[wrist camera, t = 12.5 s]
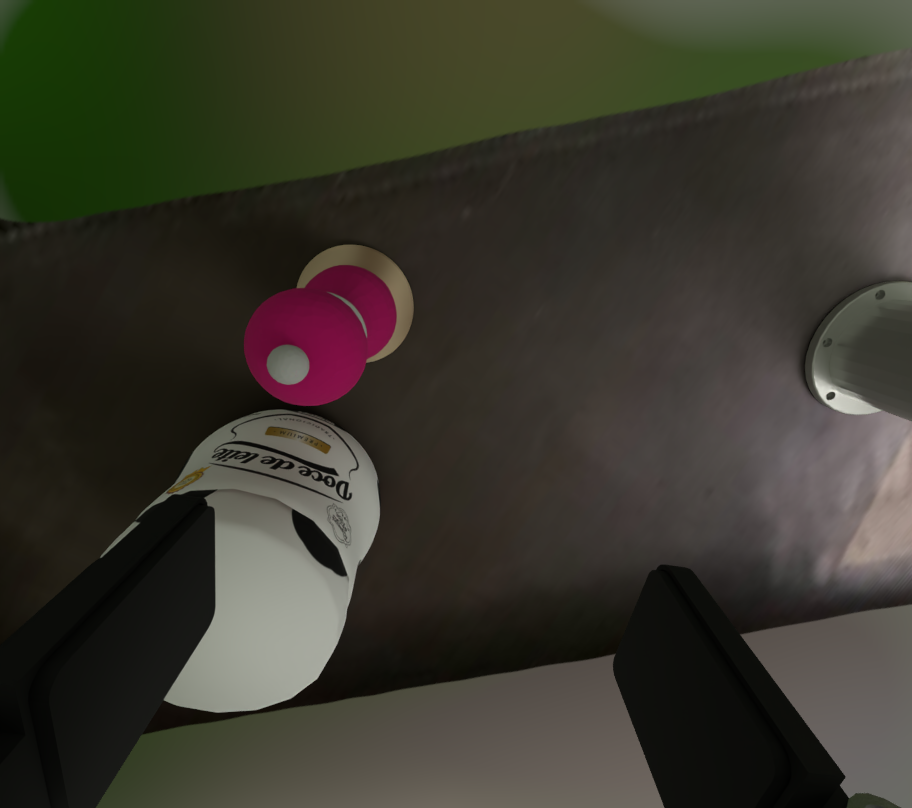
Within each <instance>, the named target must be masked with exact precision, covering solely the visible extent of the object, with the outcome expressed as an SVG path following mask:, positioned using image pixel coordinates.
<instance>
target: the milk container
mask: <svg viewBox="0 0 912 808" xmlns="http://www.w3.org/2000/svg"><path fill="white" fill-rule="evenodd" d="M173 494H180V495H187V496H194V497H201V498H204V499H206V501H207V505H208V506H211V507H213V508H214V510H215V592H216V607H215V614H214V617H213V620H212V622H211V625H210V626H209V628H208V630H207V631H206V633H205V635H204V636H203V638H202V639H201V641H200V643H199V644H198V646H197V647H196V649H195V650H194V652H193V654H192V655H191V657H190V658H189V660H188V662H187V663H186V665H185V666H184V668H183V670H182V671H181V673H180V674H179V676H178V678H177V679H176V681H175V682H174V684H173V685H172V687H171V689H170V690H169V692H168V693H167V695H166V697H165V698H164V700H165V701H167V702H169V703H172V704H174V705H177V706H182V707H188V708H194V709H200V710H205V711H211V712H233V711H248V710H258V709H261V708H264V707H267V706H270V705H273V704H276V703H279V702H282V701H285V700H288V699H290V698H292V697H293V696H295V695H296V694H297V693H299V692H300V691H301V690H303V689H304V688H305V687H307V686H308V685H309V684H311V683H312V682H313V681H315V680H316V679H317V678H318V677H319V675H320V673H321V672H322V670H323V668H324V666H325V665H326V663H327V661H328V660H329V658H330V656H331V654H332V653H333V651H334V649H335V647H336V645H337V643H338V640H339V638H340V635H341V632H342V630H343V627H344V624H345V620H346V614H347V607H348V605H349V602H350V598H351V594H352V590H353V585H354V580H355V574H356V569H357V567H358V565H359V564H360V563H361V561H362V560H363V558H364V556H365V555H366V553H367V552H368V550H369V548H370V546H371V544H372V542H373V539H374V537H375V534H376V531H377V527H378V523H379V517H380V506H381V499H380V488H379V482H378V477H377V474H376V471H375V468H374V466H373V463H372V461H371V459H370V458H369V456H368V454H367V453H366V451H365V450H364V449H363V447H362V446H361V445H360V444H359V443H358V442H357V441H356V440H355V439H354V438H353V437H352V436H351V435H350V434H349V433H348V432H346V431H345V430H344V429H342V428H341V427H339V426H338V425H336V424H334V423H333V422H331V421H329V420H327V419H325V418H322V417H320V416H317V415H314V414H310V413H306V412H302V411H296V410H286V409H277V410H267V411H261V412H257V413H253V414H250V415H247V416H245V417H242V418H239V419H237V420H235V421H233V422H231V423H229V424H227V425H225V426H223V427H222V428H220V429H218V430H217V431H215V432H214V433H213V434H211V435H210V436H209V437H208V438H206V439H205V440H204V441H203V442H202V443H201V444H200V445H199V446H198V447H197V448H196V449H195V450H194V452H193V453H192V454H191V455H190V457H189V458H188V459H187V461H186V462H185V464H184V466H183V468H182V469H181V471H180V473H179V475H178V477H177V480H176V482H175V484H174V485H173V486H172V487H170V488H169V489H168V490H167V491H165V492H164V493H163V494H162V495H161V496H159V497H158V498H157V499H156V500H155V501H154V502H153V503H151V504H150V505H149V506H148V507H147V508H146V509H145V510H144V511H143V512H142V513H141V514H140V515H139V516H138V518H137V519H136V520H135V521H134V522H133V523H132V524H131V525H130V526H129V527H128V528H127V529H126V530H125V531H124V532H123V533H122V534H121V535H120V536H119V537H118V538H117V539H116V540H115V541H114V542H113V543H112V544H111V545H110V546H109V547H108V549H107V550H106V551H105V552H104V553H103V554H102V556H101V557H103V556H104V555H105V554H106V553H107V552H108V551H109V550H110V549H111V548H113V547H114V546H115V545H116V544H117V543H118V542H119V541H120V540H121V539H123V538H124V537H125V536H126V535H127V534H128V533H129V532H130V531H131V530H133V529H134V528H135V527H136V526H137V525H138V524H139V523H140V522H141V521H143V520H144V519H145V518H146V517H147V516H148V515H149V514H150V513H152V512H153V511H154V510H155V509H156V508H157V507H158V506H159V505H160V504H162V503H163V502H164V501H165V500H166V499H167V498H168V497H170V496H171V495H173ZM101 557H100V558H101Z"/></svg>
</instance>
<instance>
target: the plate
mask: <svg viewBox="0 0 912 808" xmlns="http://www.w3.org/2000/svg"><path fill="white" fill-rule="evenodd" d="M338 265H353V266H358V267H361V268H364V269H366V270H368V271H370V272H372V273H374V274H375V275H376V276H378V277H379V278H380V279H381V280H383V281H384V283H385V284H386V285H387V286H388V288H389V290H390V291H391V294H392V296H393V298H394V302H395V305H396V311H397V322H396V326H395V331H394V333H393V335H392V337H391V339H390V341H389V342H388V344H387V345H386V346H385V347H384V348H383V349H382V350H381V351H380V352H379V353H377V354H376V355H374V356H373V357H371V358H369V359H367V361H366V363H367V362H372V361H376V360H379V359H381V358H383V357H385V356H387V355H389V354H390V353H392V352H393V351H394V350H395V349H396V348H397V347H398V346H399V345H400V344H401V343H402V341H403V340H404V339H405V337H406V335H407V333H408V331H409V329H410V326H411V323H412V318H413V310H414V305H413V296H412V292H411V288H410V285H409V283H408V281H407V279H406V277H405V275H404V274H403V272H402V271H401V270H400V268H399V267H398V266H397V265H396V264H395V263H394V262H393V261H392V260H391V259H390V258H388V257H387V256H386V255H384V254H383V253H381V252H379V251H377V250H375V249H372V248H370V247H366V246H361V245H341V246H336V247H332V248H329V249H327V250H325V251H323V252H321V253H320V254H318V255H317V256H315V257H314V258H313V259H312V260H311V261H310V262H309V263H308V265H307V266H306V267H305V269H304V270H303V272H302V274H301V276H300V278H299V281H298V284H297V288H305V286H306V285H307V284H308V282H309V281H310V280H311V279H312V278H313V277H315V276H316V275H317V274H318V273H320V272H322V271H323V270H325V269H327V268H330V267H333V266H338Z"/></svg>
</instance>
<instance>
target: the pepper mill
mask: <svg viewBox="0 0 912 808" xmlns="http://www.w3.org/2000/svg"><path fill="white" fill-rule="evenodd" d="M396 322H397V311H396V305H395V302H394V298H393V296H392V294H391V291H390V290H389V288H388V286H387V285H386V284H385V283H384V281H383V280H381V279H380V278H379V277H378V276H376V275H375V274H374V273H372V272H370V271H368V270H366V269H364V268H361V267H358V266H353V265H338V266H333V267H330V268H327V269H325V270H323V271H322V272H320V273H318V274H317V275H316V276H315V277H313V278H312V279H311V280H310V281H309V282H308V284H307V285H306V286H305V288H294V289H290V290H286V291H282V292H279V293H278V294H276V295H274V296H272V297H270V298H269V299H267V300H266V301H265V302H263V303H262V304H261V305H260V306H259V307H258V308H257V310H256V311H255V312H254V314H253V315H252V317H251V319H250V321H249V323H248V326H247V328H246V332H245V338H244V352H245V357H246V361H247V364H248V366H249V368H250V371H251V373H252V374H253V376H254V378H255V379H256V381H257V382H258V383H259V384H260V385H261V386H262V387H263V388H264V389H265V390H266V391H267V392H269V393H270V394H271V395H272V396H274V397H276V398H278V399H280V400H282V401H284V402H287V403H290V404H294V405H301V406H317V405H322V404H326V403H329V402H332V401H334V400H337V399H339V398H340V397H342V396H343V395H345V394H346V393H347V392H348V391H349V390H351V389H352V388H353V387H354V385H355V384H356V383H357V382H358V380H359V378H360V376H361V375H362V373H363V371H364V368H365V365H366V361H367V359H369V358H371V357H373V356H374V355H376V354H377V353H379V352H380V351H381V350H382V349H383V348H384V347H385V346H386V345H387V344H388V342H389V341H390V339H391V337H392V335H393V333H394V331H395V326H396Z"/></svg>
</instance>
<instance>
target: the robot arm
mask: <svg viewBox="0 0 912 808" xmlns="http://www.w3.org/2000/svg"><path fill="white" fill-rule="evenodd" d="M805 375H806V381H807V384H808V387H809V389H810V391H811V392H812V394H813V396H814V397H815V398H816V399H817V400H818V401H819V402H820V403H821V404H823V405H825V406H826V407H828V408H830V409H833V410H835V411H838V412H840V413H843V414H850V415H867V414H872V413H877V412H880V411H885V412H888V413H891V414H893V415H896V416H899V417H901V418H904V419H907V420H909V421H912V282H905V281H887V282H882V283H877V284H873V285H871V286H868V287H866V288H863V289H861V290H859V291H857V292H856V293H854V294H852V295H850V296H849V297H847V298H846V299H845V300H843V301H842V302H841V303H840V304H838V305H837V306H836V307H835V308H834V309H833V310H832V311H831V312H830V313H829V314H828V315H827V316H826V317H825V319H824V320H823V321H822V323H821V324H820V326H819V327H818V329H817V330H816V332H815V334H814V336H813V338H812V340H811V342H810V345H809V348H808V351H807V355H806V362H805ZM215 607H216V592H215V510H214V508H213V507H211V506H208V505H207V501H206V499H204V498H201V497H194V496H187V495H180V494H173V495H171V496H170V497H168V498H167V499H166V500H165V501H164V502H163V503H162V504H160V505H159V506H158V507H157V508H156V509H155V510H154V511H153V512H152V513H150V514H149V515H148V516H147V517H146V518H145V519H144V520H143V521H141V522H140V523H139V524H138V525H137V526H136V527H135V528H134V529H133V530H131V531H130V532H129V533H128V534H127V535H126V536H125V537H124V538H123V539H121V540H120V541H119V542H118V543H117V544H116V545H115V546H114V547H113V548H111V549H110V550H109V551H108V552H107V553H106V554H105V555H104V556H103V557H101V558H99V559H98V560H96V561H95V562H94V563H92V564H91V565H90V566H89V567H88V568H86V569H85V570H84V571H83V572H82V573H81V574H80V575H79V576H77V577H76V578H75V579H74V580H73V581H72V582H71V583H70V584H68V585H67V586H66V587H65V588H64V589H63V590H62V591H61V592H59V593H58V594H57V595H56V596H55V597H54V598H53V599H52V600H50V601H49V602H48V603H47V604H46V605H45V606H44V607H43V608H42V609H40V610H39V611H38V612H37V613H36V614H35V615H34V616H33V617H31V618H30V619H29V620H28V621H27V622H26V623H25V624H24V625H22V626H21V627H20V628H19V629H18V630H17V631H16V632H15V633H13V634H12V635H11V636H10V637H9V638H8V639H7V640H6V641H4V642H3V643H2V644H1V645H0V808H96V806H97V804H98V803H99V801H100V800H101V798H102V797H103V795H104V794H105V792H106V790H107V789H108V787H109V785H110V784H111V782H112V781H113V779H114V778H115V776H116V774H117V773H118V771H119V770H120V768H121V766H122V765H123V763H124V762H125V760H126V758H127V757H128V755H129V754H130V752H131V751H132V749H133V747H134V746H135V744H136V743H137V741H138V739H139V738H140V736H141V735H142V733H143V732H144V730H145V728H146V727H147V725H148V724H149V722H150V720H151V719H152V717H153V716H154V714H155V712H156V711H157V709H158V708H159V706H160V705H161V703H162V701H163V700H164V698H165V697H166V695H167V693H168V692H169V690H170V689H171V687H172V685H173V684H174V682H175V681H176V679H177V678H178V676H179V674H180V673H181V671H182V670H183V668H184V666H185V665H186V663H187V662H188V660H189V658H190V657H191V655H192V654H193V652H194V650H195V649H196V647H197V646H198V644H199V643H200V641H201V639H202V638H203V636H204V635H205V633H206V631H207V630H208V628H209V626H210V625H211V622H212V620H213V617H214V614H215ZM613 671H614V676H615V679H616V681H617V684H618V687H619V689H620V692H621V695H622V697H623V700H624V703H625V705H626V708H627V710H628V713H629V716H630V718H631V721H632V724H633V726H634V728H635V731H636V734H637V737H638V739H639V742H640V744H641V747H642V750H643V752H644V755H645V758H646V760H647V763H648V765H649V768H650V771H651V773H652V776H653V778H654V781H655V784H656V786H657V789H658V792H659V794H660V797H661V800H662V802H663V805H664V807H665V808H901V807H899V806H897V805H895V804H893V803H892V802H890V801H888V800H886V799H884V798H881V797H878V796H875V795H872V794H869V793H856V794H854V795H853V796H852V797H850V798H848V796H847V795H846V794H845V792H844V791H843V789H842V788H841V787H840V784H841V783H842V781H843V780H844V779H845V775H844V774H843V773H842V771H841V770H840V769H839V767H838V766H837V765H836V763H835V762H834V761H833V759H832V758H831V757H830V755H829V754H828V752H827V751H826V750H825V749H824V747H823V746H822V744H821V743H820V742H819V740H818V739H817V738H816V736H815V735H814V734H813V732H812V731H811V730H810V728H809V727H808V726H807V725H806V723H805V722H804V720H803V719H802V717H801V716H800V715H799V713H798V712H797V711H796V709H795V708H794V707H793V706H792V704H791V703H790V701H789V700H788V699H787V697H786V696H785V695H784V693H783V692H782V691H781V689H780V688H779V687H778V685H777V684H776V683H775V681H774V680H773V679H772V677H771V676H770V674H769V673H768V672H767V670H766V669H765V668H764V666H763V665H762V664H761V662H760V661H759V660H758V658H757V657H756V656H755V654H754V653H753V652H752V650H751V649H750V648H749V646H748V645H747V644H746V642H745V641H744V639H743V638H742V637H741V635H740V634H739V633H738V631H737V630H736V629H735V627H734V626H733V625H732V623H731V622H730V621H729V619H728V618H727V617H726V615H725V614H724V613H723V611H722V610H721V609H720V607H719V606H718V605H717V603H716V602H715V600H714V599H713V598H712V596H711V595H710V594H709V592H708V591H707V590H706V588H705V587H704V586H703V584H702V583H701V582H700V580H699V579H698V578H697V576H696V575H695V574H694V572H693V571H692V570H691V569H688V568H685V567H678V566H671V565H660V566H659V567H657V569H656V570H652V571H651V572H650V573H649V575H648V577H647V580H646V582H645V584H644V587H643V589H642V592H641V594H640V597H639V599H638V601H637V604H636V606H635V609H634V611H633V613H632V616H631V618H630V621H629V623H628V626H627V628H626V630H625V633H624V635H623V638H622V640H621V643H620V645H619V647H618V650H617V652H616V655H615V657H614V662H613Z"/></svg>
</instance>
